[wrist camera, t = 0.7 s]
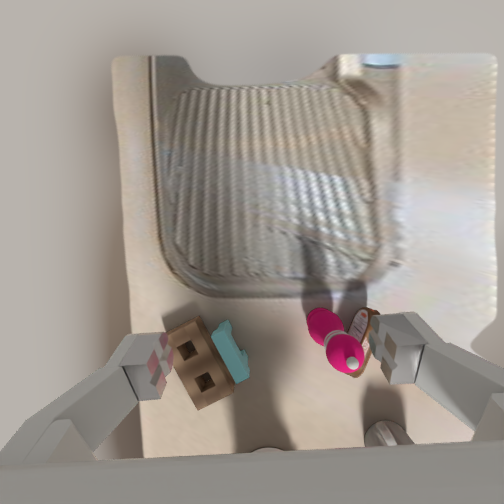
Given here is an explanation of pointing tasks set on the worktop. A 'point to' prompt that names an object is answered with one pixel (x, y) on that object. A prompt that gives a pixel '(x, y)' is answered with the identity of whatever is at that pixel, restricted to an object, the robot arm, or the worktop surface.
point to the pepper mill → (335, 340)
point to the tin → (362, 334)
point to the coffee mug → (386, 435)
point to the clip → (231, 352)
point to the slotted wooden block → (199, 364)
